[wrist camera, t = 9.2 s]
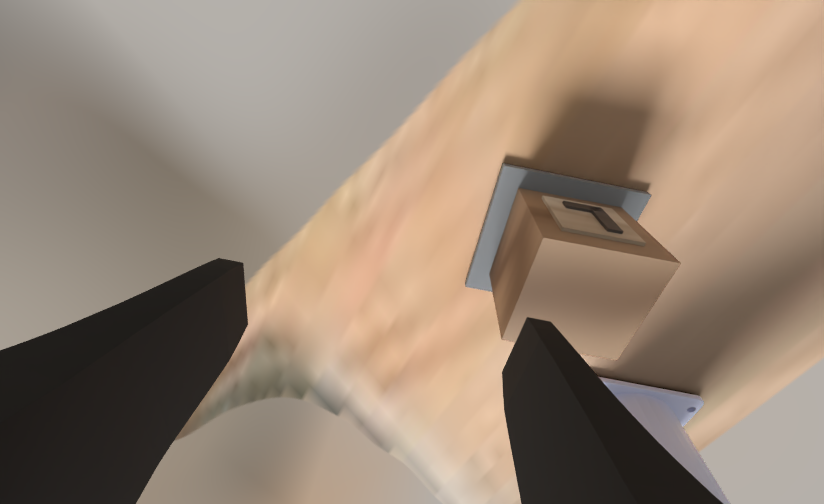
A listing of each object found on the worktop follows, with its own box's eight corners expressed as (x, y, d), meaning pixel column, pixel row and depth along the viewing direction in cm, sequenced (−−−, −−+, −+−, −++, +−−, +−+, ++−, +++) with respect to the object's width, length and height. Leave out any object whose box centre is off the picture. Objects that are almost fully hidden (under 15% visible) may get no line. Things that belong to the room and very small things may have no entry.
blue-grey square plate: (585, 305, 21) (587, 310, 20) (465, 282, 20) (465, 286, 20) (647, 192, 17) (651, 195, 17) (502, 162, 17) (503, 165, 16)
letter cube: (579, 290, 20) (616, 360, 15) (489, 273, 20) (501, 339, 15) (623, 202, 17) (685, 256, 13) (520, 182, 17) (546, 230, 13)
